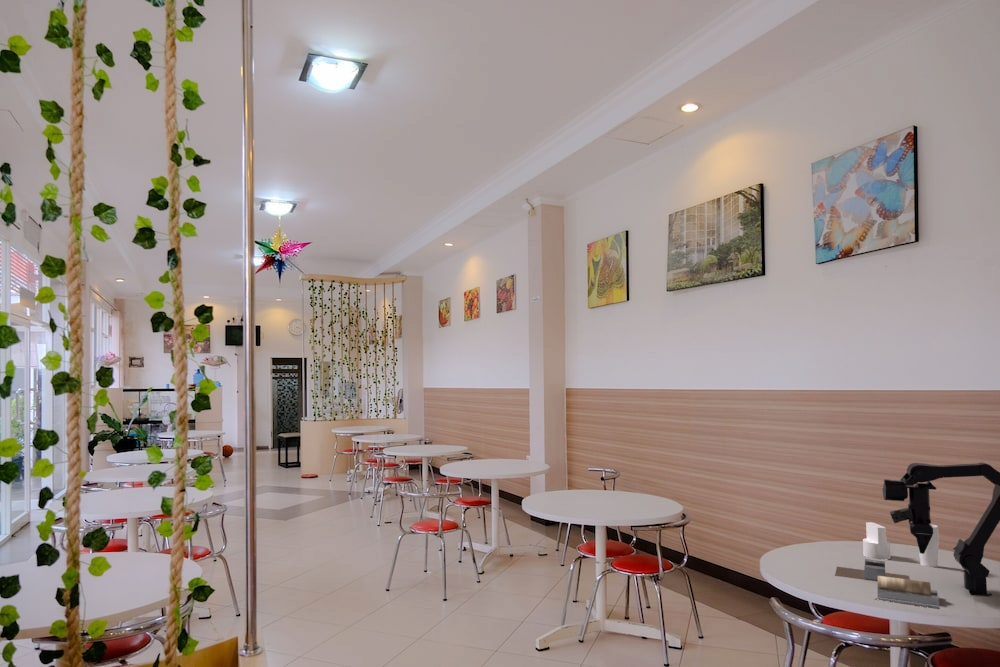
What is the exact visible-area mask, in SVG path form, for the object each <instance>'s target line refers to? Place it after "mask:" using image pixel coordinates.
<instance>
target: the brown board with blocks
mask: <svg viewBox="0 0 1000 667" xmlns="http://www.w3.org/2000/svg"><path fill="white" fill-rule="evenodd" d="M863 568H864V569H861V568H858V569H857V568H850V567H845V566H844V567H843V566H836V568H835V573H834V576H835V577H840V578H841V577H842V578H847V579H848V578H849V579H856V580H862V581H863V580H864V581H872V582H878V576H884V577H892V578H900V579H908V580H910V576H909V575H908V574H907V575H905V574H898V573H890V572H886V560H878V559H870V558H865V559H864V567H863Z"/></svg>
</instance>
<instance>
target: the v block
mask: <svg viewBox="0 0 1000 667" xmlns="http://www.w3.org/2000/svg"><path fill="white" fill-rule="evenodd" d="M876 590H877V600H878V599H879V600H883V601H882V602H886V601H890V602H889V603H893V602H894V604H900V605H908V606H913V605H914V606H915V607H920V606H921V608H922V607H923V608H927V607H928V609H934V610H935V609H936V610H940V597H939V595H938V594H939V592H938V590H934V589H931V595H927V594H920V593H912V592H905V591H898V590H890V589H883V588H878V587H877V588H876ZM879 600H878V601H879Z"/></svg>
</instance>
